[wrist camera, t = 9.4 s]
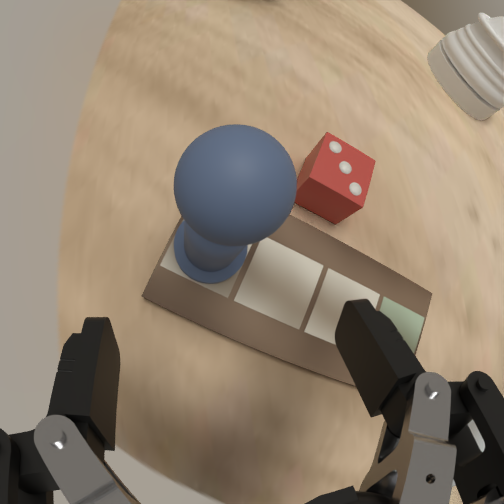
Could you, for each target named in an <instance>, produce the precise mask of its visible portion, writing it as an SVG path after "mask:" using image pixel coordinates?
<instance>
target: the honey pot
mask: <svg viewBox="0 0 504 504" xmlns="http://www.w3.org/2000/svg"><path fill="white" fill-rule="evenodd" d="M478 19H479V21H480V22H477V23H474V24H467V25H466V26H465V27H464V28H459V29H458V30H457V31H451V32H449V33H448V34H446V36H445V37H444V38H443V39H442V40H440V41H439V42H438V43H437V45H436V46H435V47H434V48H433V49H432V50H431V51H430V52H429V53H428V56H427V58H428V64H429V66H430V68H431V71H432V73H433V74H434V76H435V78H436V79H437V81H438V82H439V84H440V85H441V86H442V88H443V89H444V91H445V92H446V93H447V94H448V95H449V96H450V97H451V99H452V100H453V101H454V102H455V103H456V104H457V105H458V106H459V107H460V108H461V109H462V110H464V111H465V112H466V113H467V114H469V115H470V116H472V117H473V118H475V119H477V120H482V121H483V120H485V119H487V118H489V117H490V116H491V115H493V114H494V113H496V112H497V111H499V110H500V108H503V107H504V16H500V17H494V18H491V17H489V16H488V15H486V14H484V13H479V14H478Z"/></svg>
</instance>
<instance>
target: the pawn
mask: <svg viewBox="0 0 504 504" xmlns="http://www.w3.org/2000/svg"><path fill="white" fill-rule="evenodd" d="M296 192H297V178H296V172H295V168H294V165H293V163H292V160H291V158H290V156H289V154H288V153H287V151H286V150H285V148H284V147H283V146H282V145H281V144H280V143H279V142H278V141H277V140H276V139H275V138H274V137H272V136H271V135H269V134H268V133H266V132H264V131H262V130H260V129H258V128H255V127H251V126H247V125H225V126H220V127H216V128H214V129H211V130H209V131H207V132H205V133H204V134H202V135H200V136H199V137H198V138H196V139H195V140H194V141H193V142H192V143H191V144H190V145H189V146H188V147H187V149H186V150H185V151H184V153H183V154H182V156H181V158H180V160H179V162H178V165H177V168H176V172H175V177H174V195H175V199H176V203H177V207H178V209H179V211H180V213H181V215H182V217H183V219H184V221H183V222H182V223H181V224H180V226H179V227H178V229H177V232H176V234H175V238H174V253H175V258H176V261H177V263H178V265H179V267H180V269H181V270H182V271H183V272H184V273H185V274H186V275H187V276H188V277H190V278H191V279H193V280H195V281H197V282H200V283H205V284H215V283H219V282H223V281H225V280H227V279H228V278H230V277H231V276H233V275H234V274H235V273H236V272H237V271H238V270H239V269H240V268H241V266H242V265H243V263H244V261H245V258H246V255H247V248H248V245H250V244H254V243H257V242H259V241H261V240H263V239H265V238H267V237H268V236H270V235H272V234H273V233H274V232H275V231H277V230H278V229H279V228H280V226H281V225H282V224H283V223H284V222H285V220H286V219H287V217H288V216H289V214H290V212H291V210H292V208H293V205H294V202H295V198H296Z"/></svg>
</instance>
